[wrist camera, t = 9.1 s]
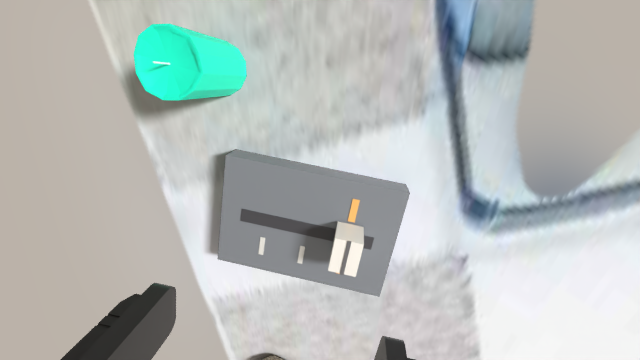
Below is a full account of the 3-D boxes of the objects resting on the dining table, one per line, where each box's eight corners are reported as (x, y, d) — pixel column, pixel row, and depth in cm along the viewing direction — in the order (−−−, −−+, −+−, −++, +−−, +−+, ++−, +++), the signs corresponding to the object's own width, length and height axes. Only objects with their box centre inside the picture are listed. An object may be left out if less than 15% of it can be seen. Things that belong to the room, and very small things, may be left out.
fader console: (235, 149, 37) (225, 155, 34) (405, 184, 36) (409, 193, 33) (227, 247, 42) (217, 259, 39) (378, 281, 40) (379, 297, 38)
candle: (225, 107, 36) (162, 118, 25) (186, 69, 35) (103, 62, 24) (257, 68, 34) (206, 62, 23) (217, 27, 33) (144, -1, 22)
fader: (337, 220, 35) (335, 238, 31) (363, 226, 35) (364, 244, 31) (331, 251, 36) (327, 271, 32) (356, 257, 36) (355, 277, 32)
